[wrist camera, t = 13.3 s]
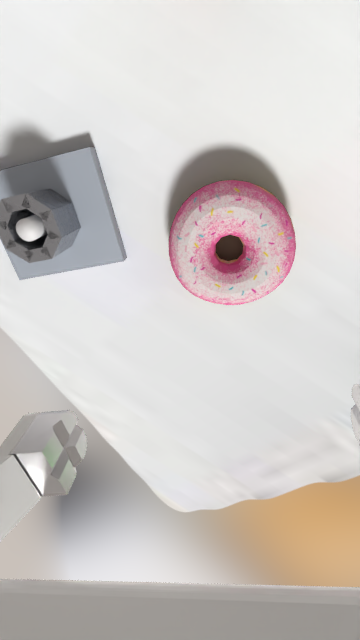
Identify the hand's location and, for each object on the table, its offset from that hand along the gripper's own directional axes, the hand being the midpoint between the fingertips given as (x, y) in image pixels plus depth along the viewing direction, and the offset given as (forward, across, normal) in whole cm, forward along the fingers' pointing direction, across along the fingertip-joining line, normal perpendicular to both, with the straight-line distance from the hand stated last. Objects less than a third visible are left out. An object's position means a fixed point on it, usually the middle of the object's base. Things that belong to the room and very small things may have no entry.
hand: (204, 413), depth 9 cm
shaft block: (+29, +18, -4) cm, 34 cm away
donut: (+30, -2, +2) cm, 30 cm away
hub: (+28, +18, -4) cm, 33 cm away
